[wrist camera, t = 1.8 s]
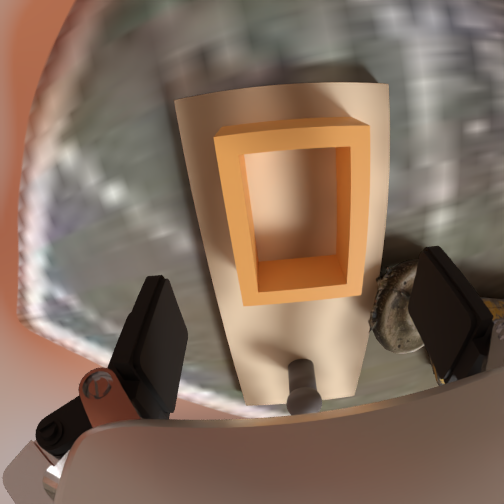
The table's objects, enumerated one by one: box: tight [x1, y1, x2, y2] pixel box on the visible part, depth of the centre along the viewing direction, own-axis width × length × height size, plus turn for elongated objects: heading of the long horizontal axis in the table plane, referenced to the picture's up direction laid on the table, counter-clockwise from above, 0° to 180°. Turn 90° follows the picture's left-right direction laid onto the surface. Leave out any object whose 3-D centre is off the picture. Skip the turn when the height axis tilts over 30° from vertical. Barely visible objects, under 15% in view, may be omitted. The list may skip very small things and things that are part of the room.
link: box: [213, 117, 370, 306], centre depth 17 cm, size 7×10×3 cm
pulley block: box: [368, 259, 504, 386], centre depth 23 cm, size 14×6×30 cm
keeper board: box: [174, 82, 390, 415], centre depth 20 cm, size 12×30×7 cm, turn 7°
